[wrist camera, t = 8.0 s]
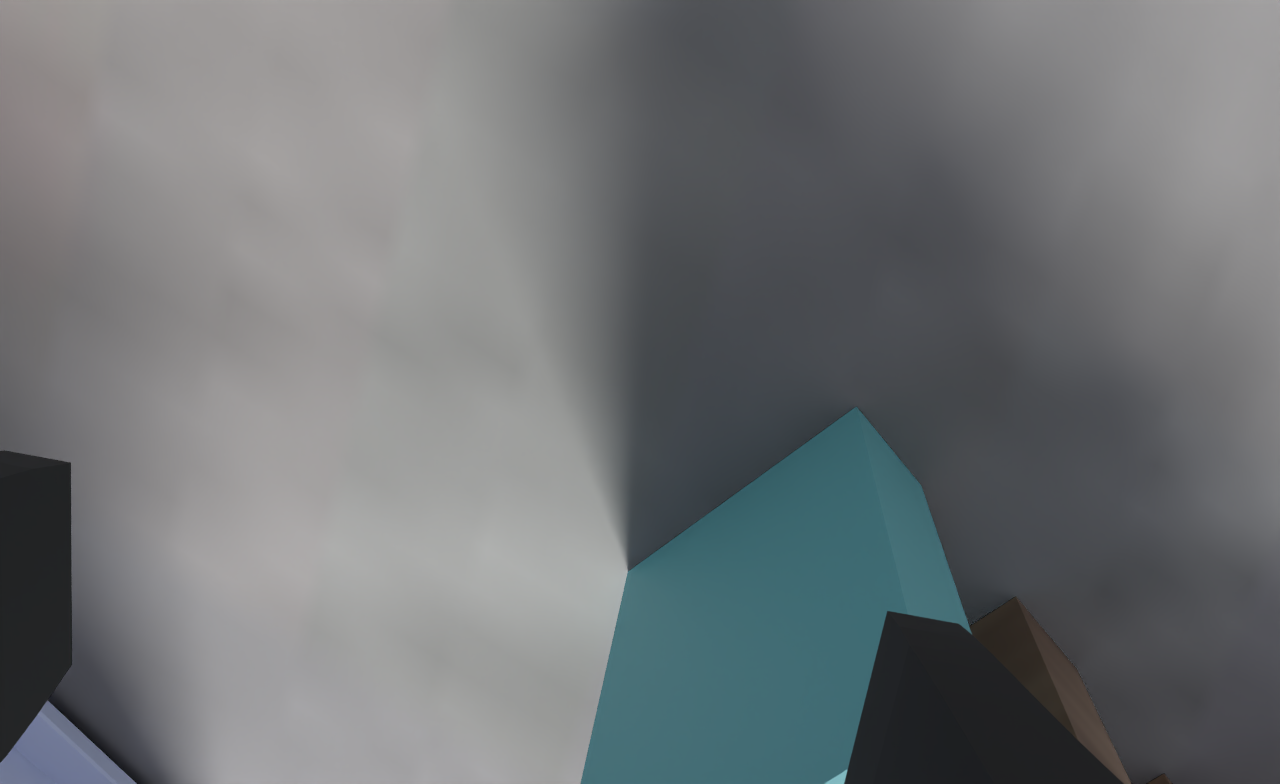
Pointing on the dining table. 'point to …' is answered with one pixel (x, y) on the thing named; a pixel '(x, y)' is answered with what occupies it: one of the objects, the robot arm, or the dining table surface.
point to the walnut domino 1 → (1047, 677)
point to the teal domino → (769, 622)
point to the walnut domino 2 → (1161, 780)
